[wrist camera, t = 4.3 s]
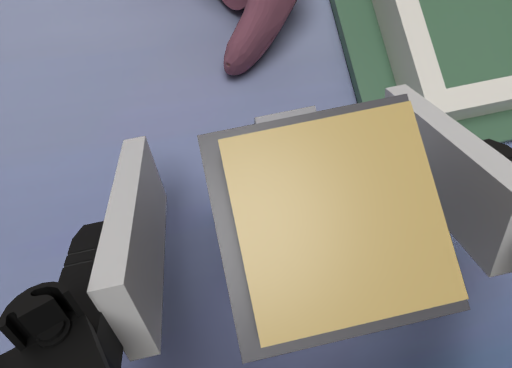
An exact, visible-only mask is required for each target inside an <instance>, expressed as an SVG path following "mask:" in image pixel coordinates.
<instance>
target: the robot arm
mask: <svg viewBox="0 0 512 368" xmlns="http://www.w3.org/2000/svg"><path fill="white" fill-rule="evenodd" d="M402 94H407V95H408V99H409V101H411V104H412V107H413V111H414V114H415V118H416V121H417V124H418V128H419V131H420V135H421V138H422V141H423V145H424V148H425V152H426V155H427V159H428V162H429V165H430V169H431V172H432V176H433V179H434V182H435V186H436V189H437V193H438V196H439V199H440V203H441V206H442V210H443V213H444V216H445V220H446V223H447V227H448V230H449V232H450V233H451V234H452V235H453V236H454V237H455V239H456V240H457V241H458V242H459V243H460V244H461V246H462V247H463V248H464V249H465V250H466V251H467V252H468V254H469V255H470V256H471V257H472V258H473V259H474V261H475V262H476V263H477V264H478V265H479V266H480V267H481V269H482V270H483V271H484V272H485V273H486V274H487V276H488V277H493V276H497V275H502V274H506V273H510V272H512V148H510V147H509V146H508V145H505V144H502V143H500V142H497V141H494V140H492V139H485V140H481V139H480V138H479V137H477V136H476V135H474V134H473V133H472V132H470V131H469V130H468V129H466V128H465V127H464V126H462V125H461V124H459V123H458V122H457V121H455V120H454V119H453V118H451V117H450V116H448V115H447V114H446V113H444V112H443V111H442V110H440V109H439V108H438V107H436V106H435V105H433V104H432V103H431V102H429V101H428V100H427V99H425V98H424V97H422V96H421V95H420V94H418V93H417V92H416V91H414V90H413V89H411V88H410V87H409V86H407V85H406V84H404V85H399V86H393V87H388V88H385V98H387V97H392V96H397V95H402ZM166 202H167V196H166V194H165V191H164V188H163V185H162V182H161V179H160V176H159V174H158V171H157V168H156V165H155V162H154V159H153V156H152V154H151V151H150V148H149V145H148V142H147V139H146V136H142V137H137V138H132V139H127V140H123V144H122V148H121V153H120V157H119V161H118V165H117V169H116V173H115V177H114V181H113V186H112V190H111V194H110V198H109V202H108V206H107V210H106V215H105V219H104V221H102V222H97V223H92V224H87V225H83V227H82V228H81V229H80V230H79V231H78V233H77V234H76V235H75V236H74V238H73V239H72V242H71V245H70V248H69V251H68V256H67V257H66V260H65V263H64V268H63V269H62V272H61V275H60V278H59V281H58V282H46V283H41V284H39V285H36V286H33V287H31V288H29V289H27V290H26V291H24V292H23V293H21V294H20V295H18V296H17V297H16V298H15V299H14V300H13V301H12V302H11V303H10V304H9V305H8V306H7V307H6V308H5V310H4V312H3V314H2V315H1V317H0V331H1V332H2V333H3V334H4V335H5V336H6V337H7V338H8V339H9V340H10V341H11V342H12V343H13V344H14V346H15V348H13V349H12V350H10V351H8V352H6V353H4V354H2V355H0V368H121V362H122V354H123V350H124V352H125V354H126V355H127V357H128V358H129V360H130V361H134V360H138V359H142V358H146V357H151V356H155V355H159V354H161V331H162V306H163V280H164V254H165V228H166Z"/></svg>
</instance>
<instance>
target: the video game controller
mask: <svg viewBox="0 0 512 368" xmlns="http://www.w3.org/2000/svg"><path fill="white" fill-rule="evenodd" d="M222 1H223V2H224V3H225V5H226V6H228V7H229V8H231V9H233V10H240V9H243V8H245V9H244V12H243V14H242V16H241V18H240V20H239V22H238V24H237V26H236V28H235V30H234V32H233V34H232V36H231V38H230V40H229V42H228V44H227V47H226V51H225V56H224V69H225V71H226V73H227V74H229V75H239V74H242V73H244V72H246V71H247V70H248V69H249V68H250V67H252V66H253V65H254V64H255V63H256V62H257V61H258V60H259V59H260V58H261V56H262V55H263V54H264V53H265V51H266V50H267V49H268V48H269V46H270V45H271V44H272V42H273V40H274V39H275V37H276V36H277V34H278V33H279V31H280V30H281V28H282V26H283V24H284V23H285V21H286V19H287V17H288V15H289V14H290V12H291V10H292V8H293V6H294V5H295V3H296V1H297V0H222Z"/></svg>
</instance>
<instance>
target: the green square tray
mask: <svg viewBox="0 0 512 368" xmlns="http://www.w3.org/2000/svg"><path fill="white" fill-rule="evenodd" d="M330 3H331V7H332V10H333V14H334V18H335V21H336V25H337V29H338V32H339V36H340V40H341V44H342V47H343V51H344V55H345V58H346V62H347V66H348V69H349V73H350V77H351V80H352V84H353V88H354V91H355V95H356V99H357V103H362V102H367V101H372V100H377V99H382V98H385V88H388V87H393V86H399V85H404V84H406V85H407V86H409V87H410V88H411V89H413V90H414V91H416V92H417V93H418V94H420V95H421V96H422V97H424V98H425V99H427V100H428V101H429V102H431V103H432V104H433V105H435V106H436V107H438V108H439V109H440V110H442V111H443V112H444V113H446V114H447V115H448V116H450V117H451V118H453V119H454V120H455V121H457V122H458V123H459V124H461V125H462V126H464V127H465V128H466V129H468V130H469V131H470V132H472V133H473V134H474V135H476V136H477V137H479V138H480V139H481V140H485V139H492V140H494V141H497V142H500V143H505V142H509V141H512V0H330Z"/></svg>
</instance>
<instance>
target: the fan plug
mask: <svg viewBox="0 0 512 368" xmlns="http://www.w3.org/2000/svg"><path fill="white" fill-rule="evenodd" d="M197 137H198V142H199V147H200V152H201V157H202V162H203V167H204V172H205V177H206V182H207V187H208V192H209V197H210V202H211V207H212V212H213V217H214V223H215V228H216V233H217V238H218V243H219V248H220V253H221V258H222V263H223V268H224V273H225V278H226V283H227V288H228V293H229V298H230V303H231V308H232V313H233V318H234V323H235V328H236V333H237V338H238V343H239V348H240V353H241V358H242V363H243V364H244V363H248V362H252V361H257V360H261V359H265V358H269V357H273V356H278V355H282V354H286V353H290V352H294V351H299V350H303V349H307V348H311V347H315V346H320V345H324V344H328V343H332V342H336V341H341V340H345V339H349V338H353V337H357V336H362V335H366V334H370V333H374V332H378V331H383V330H387V329H391V328H395V327H399V326H404V325H408V324H412V323H416V322H420V321H424V320H429V319H433V318H437V317H441V316H445V315H450V314H454V313H458V312H462V311H466V310H470V307H469V303H468V300H467V299H469V298H468V295H467V291H466V288H465V285H464V281H463V278H462V274H461V271H460V268H459V264H458V261H457V257H456V254H455V251H454V247H453V244H452V240H451V237H450V233H449V230H448V227H447V223H446V220H445V216H444V213H443V210H442V206H441V203H440V199H439V196H438V193H437V189H436V186H435V182H434V179H433V176H432V172H431V169H430V165H429V162H428V159H427V155H426V152H425V148H424V145H423V141H422V138H421V135H420V131H419V128H418V124H417V121H416V118H415V114H414V111H413V107H412V104H411V101H409V99H408V95H407V94H402V95H397V96H392V97H387V98H382V99H377V100H372V101H367V102H362V103H357V104H352V105H347V106H342V107H337V108H332V109H327V110H322V111H317V112H316V108H315V106H311V107H306V108H301V109H296V110H291V111H286V112H281V113H276V114H271V115H266V116H261V117H256V118H255V123H254V124H252V125H247V126H242V127H237V128H232V129H227V130H222V131H217V132H213V133H208V134H203V135H198V136H197Z"/></svg>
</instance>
